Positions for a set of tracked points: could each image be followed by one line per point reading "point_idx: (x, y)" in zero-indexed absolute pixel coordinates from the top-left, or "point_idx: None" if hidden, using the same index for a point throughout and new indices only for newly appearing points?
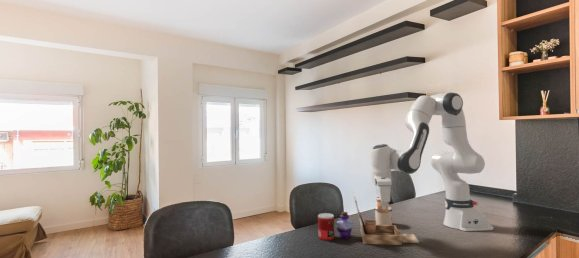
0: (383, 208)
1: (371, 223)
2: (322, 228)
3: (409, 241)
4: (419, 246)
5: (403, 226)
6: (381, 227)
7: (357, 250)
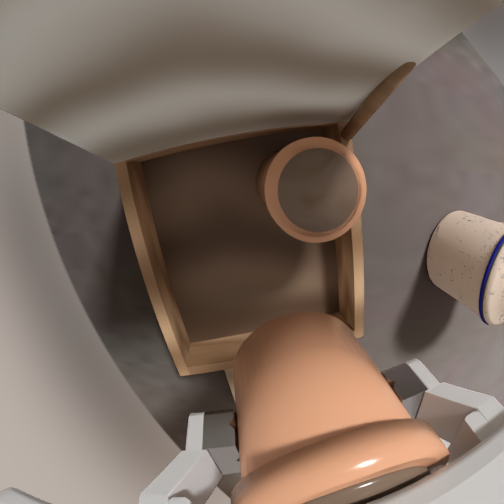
0: (195, 428)
1: (266, 203)
2: None
3: (226, 376)
4: (197, 399)
5: (428, 331)
6: (347, 257)
7: (46, 147)
